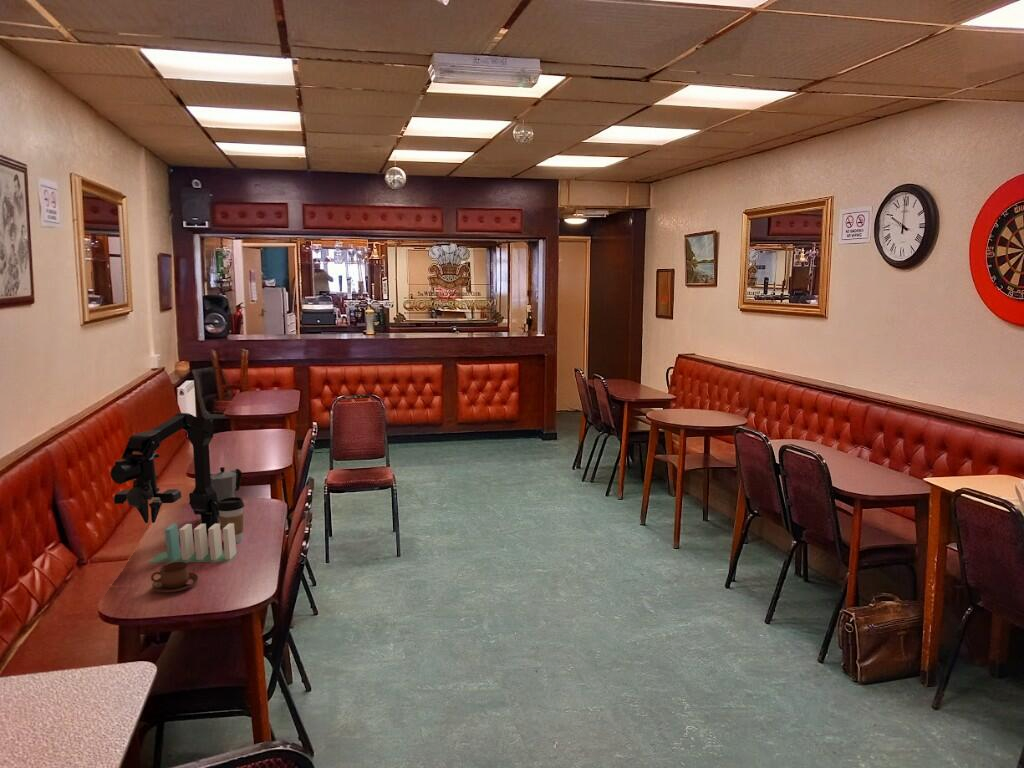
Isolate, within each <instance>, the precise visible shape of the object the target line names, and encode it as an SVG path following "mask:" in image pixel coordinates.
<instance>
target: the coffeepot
mask: <svg viewBox="0 0 1024 768" xmlns="http://www.w3.org/2000/svg"><path fill="white" fill-rule="evenodd" d="M225 470H226V467H219V471H220V472H216V473H213V474H210V475H211V486H212V487H213V489H214V490H215V492H216V494H217V500H218V501H220V500H222V499H225V498H230V497H236V495H235V492H238V491H239V490H240V486H241V482H242V476H243V472H242V471H241V469H240V468H235V469H231V470H230V471H225ZM218 517H219V515H218Z"/></svg>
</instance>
